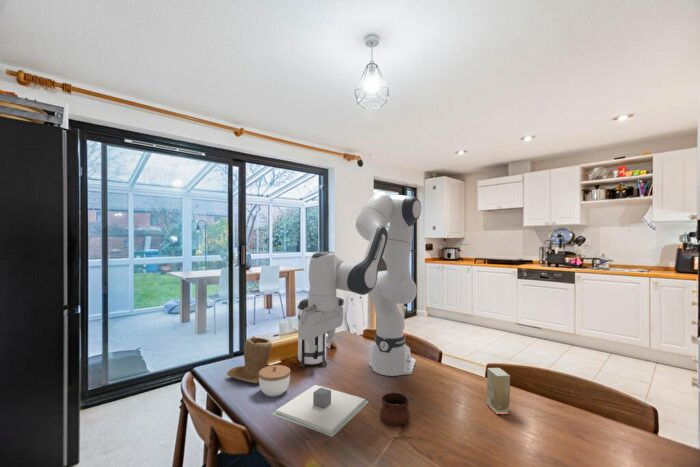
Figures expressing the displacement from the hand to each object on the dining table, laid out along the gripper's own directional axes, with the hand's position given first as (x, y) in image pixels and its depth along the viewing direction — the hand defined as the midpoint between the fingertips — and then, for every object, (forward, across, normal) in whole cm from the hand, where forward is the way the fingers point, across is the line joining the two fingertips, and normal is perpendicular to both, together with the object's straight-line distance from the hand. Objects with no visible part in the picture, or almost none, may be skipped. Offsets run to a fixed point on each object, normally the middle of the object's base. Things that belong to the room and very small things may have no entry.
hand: (321, 346), depth 102 cm
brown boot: (+20, +6, +36) cm, 41 cm away
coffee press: (+20, +29, +23) cm, 42 cm away
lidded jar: (+20, +1, +20) cm, 28 cm away
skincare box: (+20, +28, -49) cm, 59 cm away
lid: (+19, 0, 0) cm, 19 cm away
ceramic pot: (+20, +6, -22) cm, 31 cm away
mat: (+20, 0, 0) cm, 20 cm away
